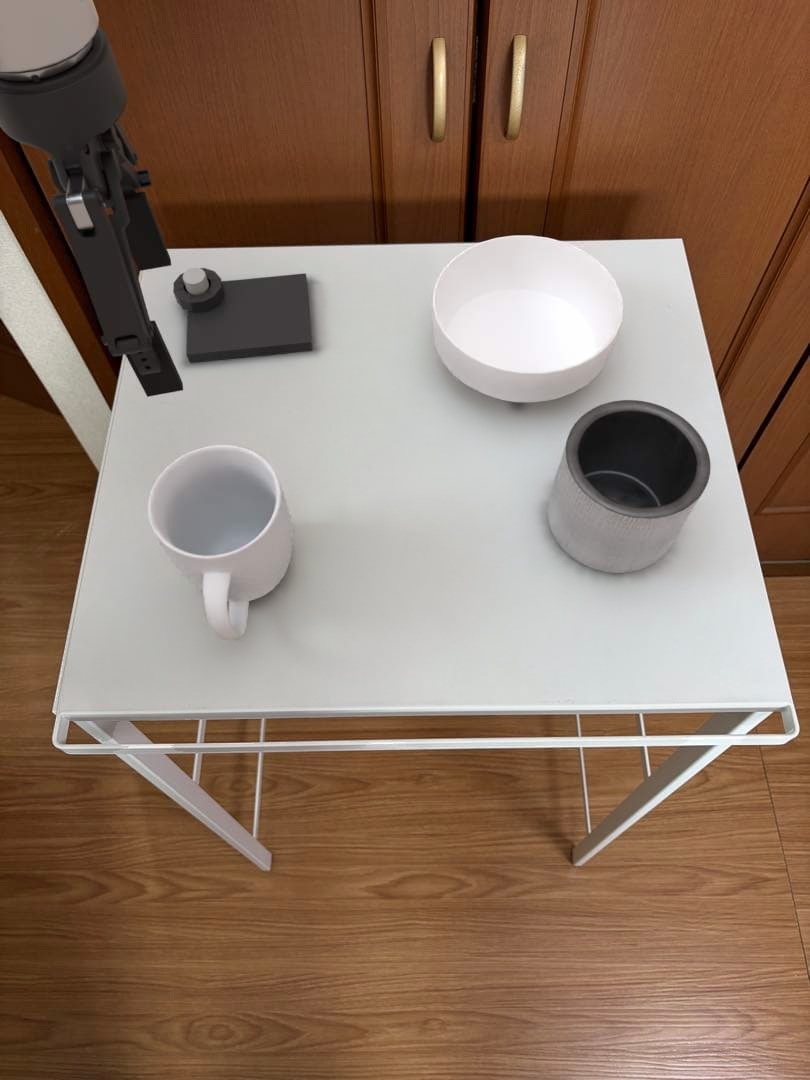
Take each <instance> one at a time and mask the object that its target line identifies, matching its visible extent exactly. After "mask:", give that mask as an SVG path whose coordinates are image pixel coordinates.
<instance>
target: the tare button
mask: <svg viewBox="0 0 810 1080" xmlns="http://www.w3.org/2000/svg"><path fill="white" fill-rule="evenodd" d="M200 268H201V267H191V268H188V269H187V270H185V271H184V272H185V273H184V272H183V273H184V274H183V280H184V283H185V286H186V289H187V291H188V292H189V293H190V294H193V295H198V294H202V293H204V292H206V291H207V290H208V288H209V283H208V280H207V277H206V274H205V272H204V271H203V270H202V269H200Z"/></svg>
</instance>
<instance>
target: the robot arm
mask: <svg viewBox="0 0 810 1080" xmlns="http://www.w3.org/2000/svg"><path fill="white" fill-rule="evenodd" d="M109 41H110V40H109V38H108V36H107V34H106V32H105V31H104V30H103V29H102V28H101V27H100V17H99V14H98V11H97V8H96V6H95V3H94V1H93V0H0V128H1V130H2V131H3V132H4V133H5V134H6V135H7V137H9V138H11V139H12V140H14V141H16V142H18V143H20V144H23V145H26V146H30V147H33V148H36V149H38V150H41V151H43V152H45V153H47V154H48V155H50V156H51V158H47V161H46V163H47V168H48V171H49V174H50V177H51V181H52V183H53V185H54V187H55V188H56V189H57V190H58V191H59V192H60V193H58V194H56V193H55V194H52V195H51V200H52V202H51V206H52V209H53V210H54V212H55V214H56V216H57V217H58V220H59V222H60V223H61V226H62V228H63V230H64V232H65V234H66V236H67V239H68V242H69V244H70V246H71V249H72V252H73V254H74V257H75V260H76V263H77V265H78V268H79V271H80V273H81V277H82V279H83V281H84V284H85V287H86V290H87V292H88V295H89V298H90V301H91V304H92V306H93V308H94V311H95V315H96V317H97V320H98V323H99V324H100V327H101V330H102V333H103V335H102V336H100V340H101V342H102V344H103V345H104V346H107V349H108V351H109V352H110V355H111V356H112V357H120V356H124V355H125V357H126V359H127V361H128V363H129V365H130V367H131V369H132V370H133V372H134V374H135V376H136V378H137V379H138V382H139V384H140V386H141V388H142V389H143V391H144V393H145V396H146V397H147V398H148V397H153V396H154V397H155V396H159V395H164V394H171V393H176V392H180V391H184V384H183V381H182V378H181V375H180V374H179V371H178V369H177V367H176V365H175V363H174V360H173V358H172V355H171V354H170V351H169V349H168V347H167V345H166V342H165V340H164V338H163V335H162V334H161V331H160V328H159V327H158V325H157V322H156V320H151V319H150V316H149V315H150V314H149V312H148V308H147V304H146V301H145V298H144V294H143V291H142V287H141V284H140V280H139V276H138V272H142V271H148V270H153V269H159V268H164V267H171V266H172V260H171V256H170V254H169V251H168V249H167V246H166V243H165V240H164V238H163V235H162V233H161V229H160V227H159V225H158V223H157V220H156V217H155V215H154V212H153V209H152V207H151V204H150V201H149V198H148V196H147V193H146V191H139V189H143V188H149V187H153V183H152V179H151V175H150V172H149V170H148V168H146V169H140V170H137V169H136V166H138V165H139V163H138V161H139V156H138V153H137V152H136V151H135V149H134V147H133V145H132V143H131V141H130V139H129V138H128V135H127V134H126V131H125V130H124V128H123V126H122V124H121V123H120V121H119V119H120V118H121V117H122V115H123V113H124V111H125V108H126V105H127V96H128V95H127V89H126V86H125V85H126V84H125V83H124V80H123V77H122V75H121V71H120V69H119V65H118V63H117V61H116V58H115V55H114V52H113V50H112V49H113V48H112V47H111V44H110V42H109ZM108 209H111V210H112V213H111V214H109V212H108ZM135 265H136V266H135ZM136 267H137V269H136ZM137 270H138V272H137Z"/></svg>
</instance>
